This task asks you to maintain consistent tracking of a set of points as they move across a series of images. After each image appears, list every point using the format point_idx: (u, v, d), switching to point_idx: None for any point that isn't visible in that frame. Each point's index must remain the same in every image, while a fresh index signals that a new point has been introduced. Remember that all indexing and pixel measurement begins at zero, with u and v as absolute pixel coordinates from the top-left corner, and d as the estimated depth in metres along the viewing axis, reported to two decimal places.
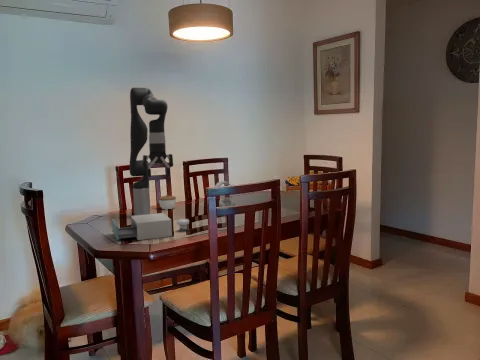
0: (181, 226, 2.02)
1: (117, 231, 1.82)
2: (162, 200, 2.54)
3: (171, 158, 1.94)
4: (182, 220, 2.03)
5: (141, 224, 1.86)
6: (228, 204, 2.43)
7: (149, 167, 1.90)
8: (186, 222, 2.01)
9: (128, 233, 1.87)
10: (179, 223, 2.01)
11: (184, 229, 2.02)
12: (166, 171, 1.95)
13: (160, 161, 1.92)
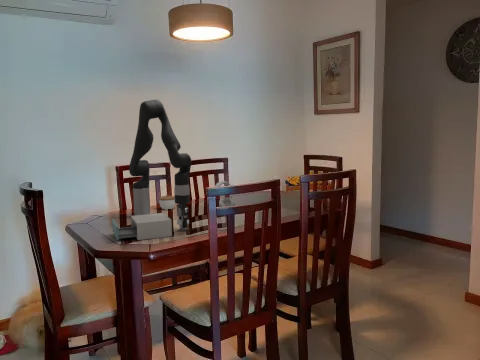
0: (181, 226, 2.02)
1: (117, 231, 1.82)
2: (162, 200, 2.54)
3: None
4: None
5: (141, 224, 1.86)
6: (228, 204, 2.43)
7: None
8: None
9: (128, 233, 1.87)
10: (179, 223, 2.01)
11: (184, 229, 2.02)
12: None
13: None
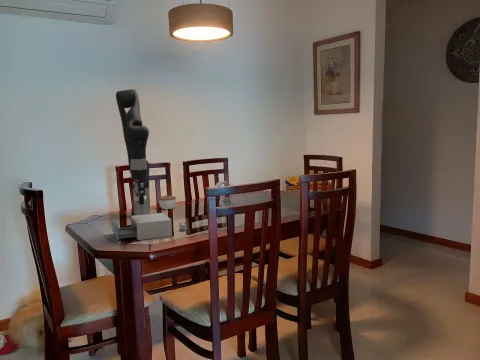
0: (181, 226, 2.02)
1: (117, 231, 1.82)
2: (162, 200, 2.54)
3: None
4: None
5: (141, 224, 1.86)
6: (228, 204, 2.43)
7: None
8: None
9: (128, 233, 1.87)
10: (136, 199, 1.91)
11: (184, 229, 2.02)
12: None
13: None
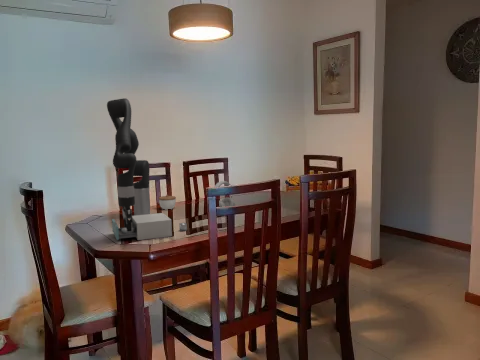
0: (181, 226, 2.02)
1: (117, 231, 1.82)
2: (162, 200, 2.55)
3: None
4: None
5: (141, 224, 1.86)
6: (228, 204, 2.43)
7: None
8: (131, 231, 1.91)
9: (128, 233, 1.87)
10: (123, 232, 1.90)
11: (184, 229, 2.02)
12: None
13: None
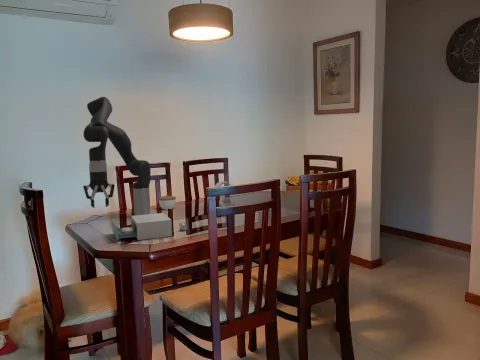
0: (181, 226, 2.02)
1: (117, 231, 1.82)
2: (162, 200, 2.54)
3: None
4: (127, 228, 1.93)
5: (141, 224, 1.86)
6: (228, 204, 2.43)
7: None
8: (131, 231, 1.91)
9: (128, 233, 1.87)
10: (123, 232, 1.90)
11: (184, 229, 2.02)
12: None
13: None
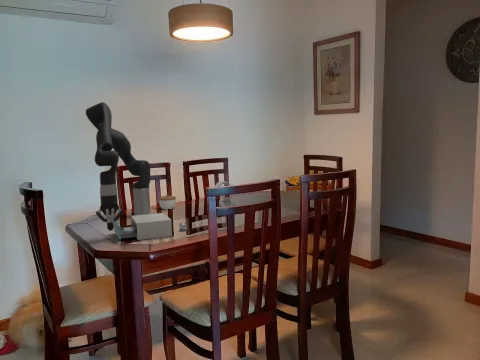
0: (181, 226, 2.02)
1: (119, 231, 1.83)
2: (162, 200, 2.54)
3: None
4: (129, 228, 1.93)
5: (141, 224, 1.86)
6: (228, 204, 2.43)
7: None
8: (133, 230, 1.91)
9: (130, 233, 1.87)
10: (125, 232, 1.91)
11: (184, 229, 2.02)
12: None
13: None
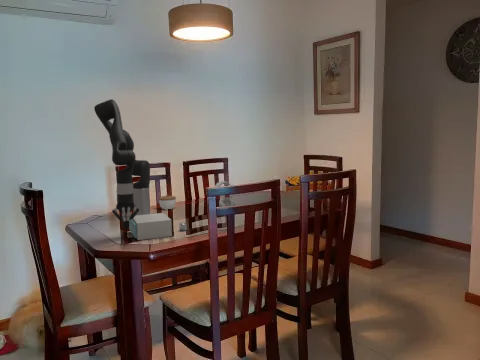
0: (181, 226, 2.02)
1: (135, 229, 1.86)
2: (162, 200, 2.54)
3: None
4: None
5: (141, 224, 1.86)
6: (228, 204, 2.43)
7: None
8: None
9: None
10: None
11: (184, 229, 2.02)
12: None
13: None
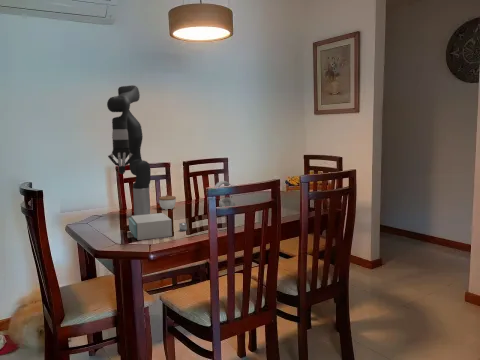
0: (181, 226, 2.02)
1: (135, 229, 1.85)
2: (162, 200, 2.54)
3: None
4: None
5: (141, 224, 1.86)
6: (228, 204, 2.43)
7: None
8: None
9: None
10: None
11: (184, 229, 2.02)
12: None
13: None
